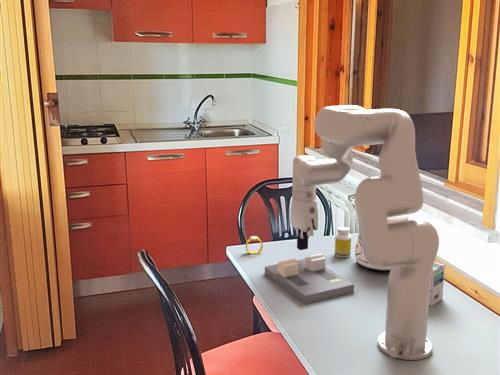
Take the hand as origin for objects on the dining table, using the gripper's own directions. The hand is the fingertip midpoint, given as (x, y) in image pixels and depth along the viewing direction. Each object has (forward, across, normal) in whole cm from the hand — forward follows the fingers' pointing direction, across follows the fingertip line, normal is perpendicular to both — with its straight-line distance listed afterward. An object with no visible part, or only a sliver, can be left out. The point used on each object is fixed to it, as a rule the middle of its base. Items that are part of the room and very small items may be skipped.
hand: (302, 248), depth 182 cm
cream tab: (+4, -8, +10) cm, 13 cm away
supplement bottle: (+7, +3, -18) cm, 20 cm away
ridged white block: (+4, -8, 0) cm, 9 cm away
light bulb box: (+6, -35, -18) cm, 40 cm away
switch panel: (+6, -12, +5) cm, 14 cm away
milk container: (+6, -10, -24) cm, 27 cm away
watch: (+7, +18, +8) cm, 21 cm away
